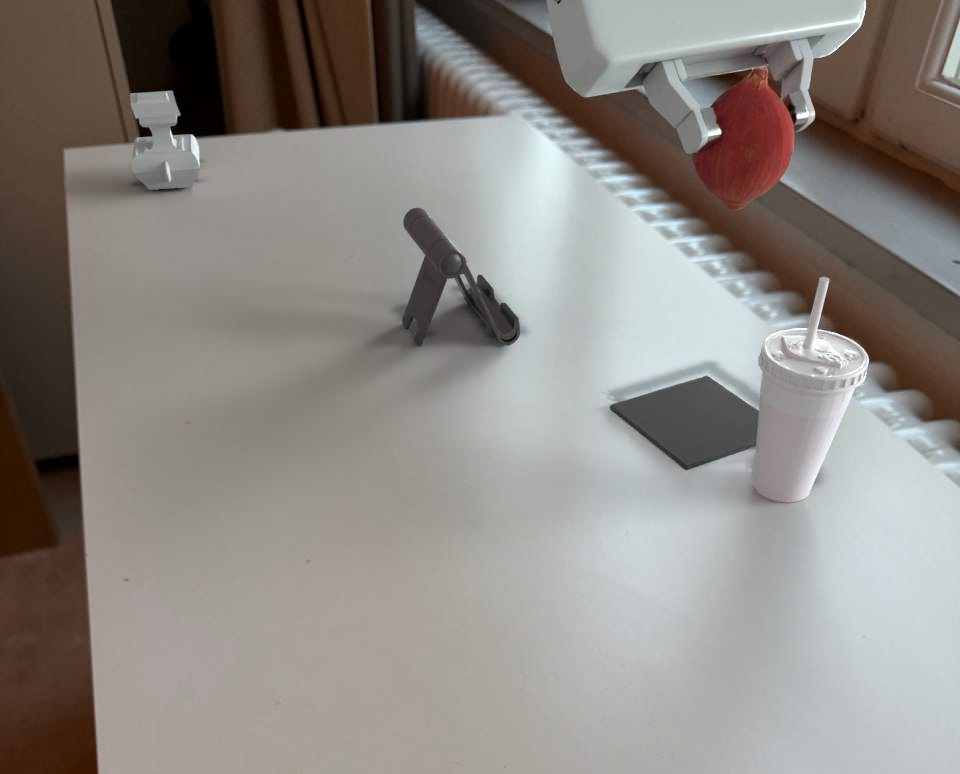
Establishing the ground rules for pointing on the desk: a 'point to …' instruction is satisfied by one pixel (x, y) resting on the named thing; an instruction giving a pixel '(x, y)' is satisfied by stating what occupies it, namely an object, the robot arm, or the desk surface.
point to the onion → (747, 142)
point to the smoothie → (802, 403)
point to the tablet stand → (446, 265)
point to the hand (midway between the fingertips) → (753, 137)
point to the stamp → (162, 144)
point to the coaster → (692, 421)
